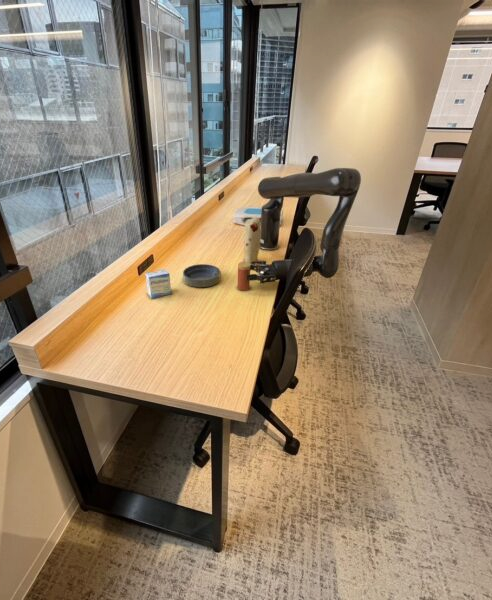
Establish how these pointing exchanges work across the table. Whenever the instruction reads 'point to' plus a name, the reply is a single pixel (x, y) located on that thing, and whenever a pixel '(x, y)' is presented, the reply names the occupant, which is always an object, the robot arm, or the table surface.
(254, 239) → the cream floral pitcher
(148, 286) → the medicine box
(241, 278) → the pill bottle
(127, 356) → the table surface
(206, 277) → the bowl
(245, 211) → the document scanner
